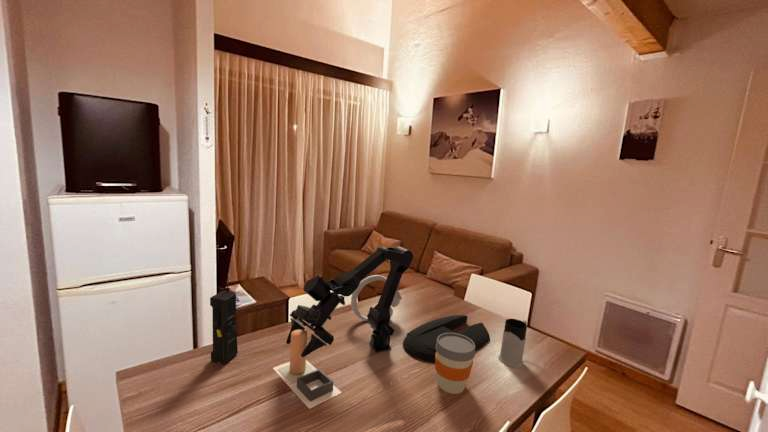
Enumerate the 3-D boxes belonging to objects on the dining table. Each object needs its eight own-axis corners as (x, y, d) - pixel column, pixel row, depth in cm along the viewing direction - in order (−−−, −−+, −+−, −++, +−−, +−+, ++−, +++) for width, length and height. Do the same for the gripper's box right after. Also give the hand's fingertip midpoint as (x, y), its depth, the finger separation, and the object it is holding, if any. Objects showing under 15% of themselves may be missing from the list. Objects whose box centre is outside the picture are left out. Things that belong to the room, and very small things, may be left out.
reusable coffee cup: (443, 367, 120) (448, 328, 118) (476, 384, 112) (482, 342, 110) (424, 384, 110) (428, 341, 108) (459, 403, 103) (465, 358, 100)
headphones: (386, 333, 149) (344, 314, 141) (380, 323, 157) (340, 305, 149) (410, 292, 149) (370, 271, 141) (403, 285, 157) (364, 264, 149)
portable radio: (224, 366, 111) (224, 294, 107) (208, 363, 112) (207, 291, 108) (239, 353, 119) (239, 285, 115) (223, 350, 120) (223, 283, 116)
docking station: (387, 341, 135) (388, 330, 134) (451, 316, 162) (452, 306, 161) (435, 374, 117) (437, 360, 116) (498, 339, 143) (500, 328, 143)
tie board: (341, 395, 102) (342, 383, 101) (309, 412, 95) (309, 399, 94) (302, 359, 119) (303, 348, 118) (272, 370, 111) (272, 359, 110)
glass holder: (494, 359, 128) (499, 322, 125) (510, 346, 138) (516, 312, 135) (516, 370, 122) (523, 331, 119) (532, 356, 132) (538, 320, 129)
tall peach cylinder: (304, 365, 113) (306, 329, 111) (305, 374, 109) (307, 336, 107) (289, 366, 112) (290, 329, 110) (289, 376, 107) (291, 338, 105)
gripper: (295, 287, 115) (263, 326, 109) (327, 306, 102) (293, 353, 96) (314, 303, 122) (285, 341, 116) (346, 323, 109) (316, 367, 103)
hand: (294, 349), depth 108 cm, fingers open, 9 cm apart
